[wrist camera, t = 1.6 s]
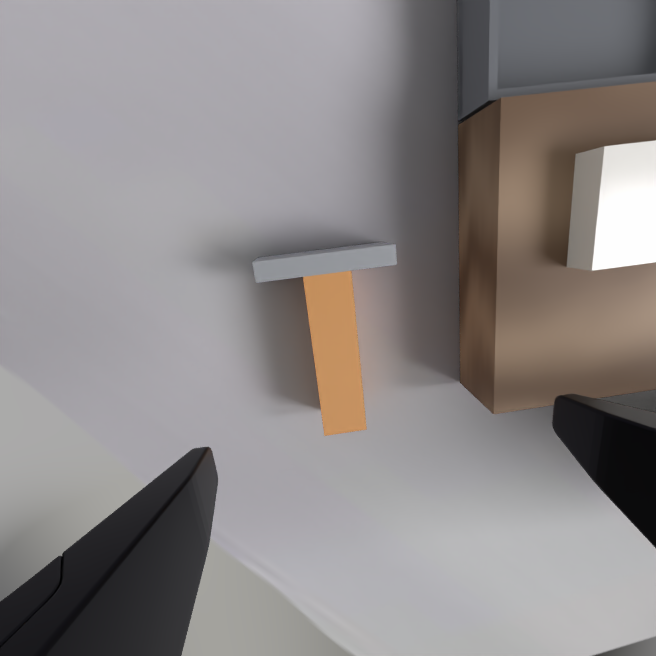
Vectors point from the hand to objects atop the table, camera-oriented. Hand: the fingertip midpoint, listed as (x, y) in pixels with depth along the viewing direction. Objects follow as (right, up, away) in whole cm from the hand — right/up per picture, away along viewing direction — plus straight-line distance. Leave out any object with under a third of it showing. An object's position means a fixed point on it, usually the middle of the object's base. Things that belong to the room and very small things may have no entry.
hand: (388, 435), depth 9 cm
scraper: (-1, +2, +12) cm, 12 cm away
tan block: (+12, +7, +12) cm, 18 cm away
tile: (+12, +8, +7) cm, 17 cm away
